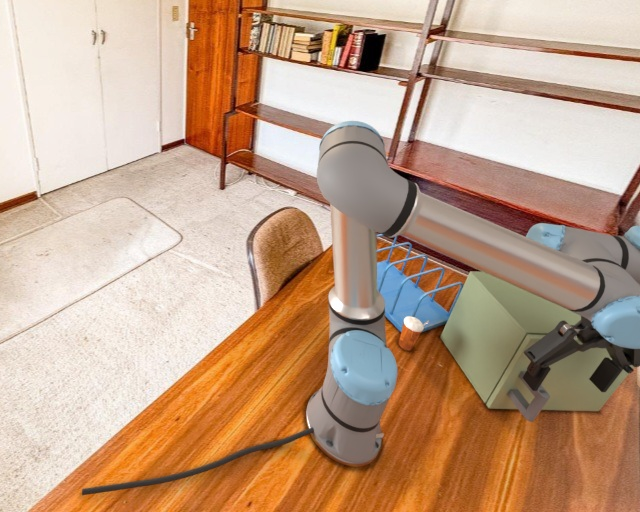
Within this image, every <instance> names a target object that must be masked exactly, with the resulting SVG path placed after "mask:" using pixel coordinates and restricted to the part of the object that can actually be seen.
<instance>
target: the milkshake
mask: <svg viewBox="0 0 640 512" xmlns="http://www.w3.org/2000/svg"><path fill="white" fill-rule="evenodd" d="M428 322H429V320H428V321H427V322H426V323H424V324H422V323H421V321H420V320H418V319H417V318H415V317H410V316H408V317H406V318H405V319H404V322H403V326H402V331H401V332H400V335H399V339H398V345H399V347H400V348H401V349H403V350H404V351H411V350H413V348H414V346H415V344H416V342H417V341H418V339H419V337H420V335H421V334H422V333H423V332H422V331H423V329H424V325H426V324H427V323H428Z"/></svg>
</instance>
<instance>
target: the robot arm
mask: <svg viewBox="0 0 640 512" xmlns="http://www.w3.org/2000/svg"><path fill="white" fill-rule="evenodd" d="M318 145H319V147H318V150H319V151H318V152H319V154H318V163H317V168H316V182H317V185H318V188H319V191H320V192H321V196H322V197H323V198H324V199H325V200H326V201H327V202H328V203H329V206H330V207H329V208H330V209H329V210H330V224H331V227H330V228H331V243H332V244H331V246H332V260H333V261H332V262H333V278H334V286H333V287H332V288H330V290H329V292H328V296H327V297H328V298H327V299H328V313H329V314H328V315H329V316H328V317H329V329H328V330H329V334H328V336H329V337H328V353H327V354H328V356H327V368H326V373H325V377H324V380H323V382H322V383H323V384H322V385H321V387H320V388H319V389H318V390H316V391H315V392H314V393H313V394H312V395H311V397H310V398H309V400H308V403H307V406H306V409H305V423H306V427H307V429H304V430H301V431H299V432H296V433H294V434H292V435H290V436H288V437H285V438H281V439H279V440H273V441H270V442H265V443H261V444H257V445H253V446H251V447H247V448H244V449H241V450H239V451H237V452H234V453H232V454H230V455H227V456H226V457H223V458H221V459H219V460H216V461H214V462H210V463H208V464H205V465H202V466H199V467H196V468H192V469H189V470H185V471H182V472H178V473H175V474H170V475H165V476H159V477H155V478H154V477H153V478H149V479H141V480H135V481H134V480H133V481H128V482H122V483H114V484H106V485H100V486H93V487H85V488H82V489H81V496H87V495H94V494H101V493H102V494H103V493H108V492H116V491H122V490H123V491H124V490H128V489H135V488H136V489H137V488H141V487H148V486H149V487H150V486H154V485H160V484H165V483H170V482H174V481H179V480H183V479H186V478H189V477H193V476H197V475H199V474H202V473H206V472H207V471H211V470H213V469H216V468H219V467H221V466H224V465H225V464H228V463H230V462H232V461H234V460H237V459H239V458H241V457H243V456H246V455H249V454H253V453H256V452H259V451H263V450H264V451H265V450H269V449H273V448H277V447H280V446H283V445H287V444H289V443H292V442H294V441H297V440H300V439H301V438H304V437H306V436H308V435H310V437H311V439H312V441H313V442H314V444H315V445H316V446H317V447H318V448H319V449H320V451H321V452H322V453H323V454H324V455H326V456H327V457H328V458H329V459H331V460H333V461H334V462H336V463H338V464H340V465H343V466H346V467H351V468H361V467H365V466H368V465H370V464H371V463H372V462H374V460H375V459H376V458H377V456H378V455H379V453H380V450H381V447H382V440H383V438H384V436H385V432H384V433H383V432H382V427H381V426H382V425H381V419H382V417H383V415H384V412H385V410H386V407H387V406H388V402H389V401H390V398H391V396H392V394H394V391H395V389H396V384H397V380H398V365H397V361H396V358H395V356H394V354H393V351H392V350H391V349H390V348H389V347H388V344H387V334H386V332H387V331H386V316H385V301H384V298H383V296H382V295H381V293H380V292H379V291H378V290H377V263H378V253H377V250H378V237H377V235H378V234H382V235H384V236H385V237H387V238H389V239H391V238H395V236H397V237H398V236H401V237H403V238H405V239H407V240H410V241H412V242H413V243H414V242H415V243H417V244H419V245H421V246H423V247H425V248H427V249H430V250H433V251H435V252H438V253H439V254H441V255H443V256H446V257H448V258H451V259H453V260H455V261H457V262H460V263H461V264H463V265H466V266H468V267H470V268H473V269H476V271H477V270H478V271H479V272H484V273H486V274H489V275H491V276H493V277H496V278H498V279H500V280H502V281H505V282H507V283H509V284H511V285H514V286H516V287H518V288H520V289H523V290H525V291H527V292H529V293H532V294H534V295H536V296H539V297H541V298H543V299H545V300H548V301H550V302H552V303H554V304H557V305H559V306H561V307H563V308H565V309H568V310H570V311H572V312H574V313H576V314H578V315H580V316H581V320H580V321H579V322H578V323H576V324H575V325H569V324H568V323H567V322H566V321H564V320H563V321H560V322H559V323H558V325H557V326H556V327H555V329H553V330H552V331H551V332H549V333H548V334H547V335H545V336H544V337H543V338H541V339H540V340H539V341H537V342H536V343H535V344H533V345H532V346H531V347H529V348H528V349H527V350H525V351H524V354H525V355H526V356H527V357H528V359H529V360H530V361H531V362H530V364H529V365H528V367H527V371H526V373H525V374H524V376H523V379H524V380H525V382H526V383H527V384H528V385H529V387H530V388H531V389H532V390H533V391H537V390H538V388H539V387H540V385H541V384H542V382H543V381H544V379H545V377H546V376H547V374H548V373H549V371H550V370H551V368H550V367H549V366H550V365H552V364H554V363H556V362H558V361H560V360H561V359H563V358H565V357H567V356H569V355H571V354H573V353H575V352H577V351H581V352H584V351H586V350H588V349H590V348H606V349H607V351H608V353H609V355H610V357H611V358H612V360H611V359H609V358H606V357H605V358H604V359H603V360H602V362H601V363H600V365H599V366H598V367H597V369H596V370H595V372H594V373H593V374H592V376H591V377H590V378H589V380H590V381H591V382H592V383H593V384H594V385H595V386H596V387H597V388H598V389H599V390H600V391H601V392H606V391H607V390H608V388H609V387H610V386H611V385H612V383H613V382H614V381H615V379H616V378H617V377H618V375H619V374H620V373H621V372H622V370H623V369H624V370H625V371H626V372H627V373H629V374H632V373H633V372H634V371H635V370H634V368H639V367H640V225H633V226H631V227H630V228H629V229H628V230H627V231H625V232H624V234H623V235H617V234H607V233H603V232H597V231H593V230H587V229H582V228H576V227H572V226H568V225H567V226H566V225H565V224H560V225H559V224H553V223H545V222H539V223H536V224H534V225H532V226H531V227H530V228H529V229H528V231H527V233H526V235H522V234H520V233H517V232H515V231H513V230H510V229H508V228H506V227H504V226H501V225H499V224H496V223H494V222H492V221H489V220H487V219H486V218H485V219H484V218H482V217H480V216H478V215H475V214H473V213H470V212H468V211H466V210H463V209H462V208H459V207H456V206H455V205H452V204H449V203H447V202H444V201H443V200H440V199H437V198H435V197H432V196H431V195H428V194H425V193H423V192H421V190H420V186H419V185H418V184H417V183H416V182H414V181H411V180H409V179H407V178H405V177H403V176H401V175H400V174H398V173H397V172H395V171H394V170H393V169H392V168H391V167H390V166H389V163H388V159H387V154H386V149H385V148H386V147H385V145H386V144H385V142H384V139H383V138H382V135H381V134H380V132H379V131H378V130H377V129H376V128H374V127H373V126H371V124H368V123H366V122H363V121H358V120H346V121H342V122H338V123H336V124H333V125H332V126H331V127H329V129H328V130H327V131H326V132H325V133H324V135H323V136H322V138H321V139H320V142H319V144H318ZM576 336H577V338H578V340H579V341H580V342H581V343H582V345H580V344H579V343H578V342H577V341H575V340H574V339H576ZM630 365H633V366H634V368H633V369H632V368H631V367H630Z"/></svg>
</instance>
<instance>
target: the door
mask: <svg viewBox="0 0 640 512" xmlns="http://www.w3.org/2000/svg"><path fill="white" fill-rule="evenodd" d="M544 336H545V335H531V334H527V336H526V338H525V339H524V341H523V343H522V344H521V346H520V348H519V349H518V351H517V353H516V355H515V356H514V358H513V360H512V361H511V363H510V365H509V366H508V368H507V370H506V371H505V373H504V375H503V376H502V378H501V380H500V382H499V383H498V385H497V387H496V388H495V390H494V392H493V393H492V395H491V397H490V398H489V400H488V402H487V403H485V405H486V407H487V409H489V410H490V409H491V410H493V409H494V410H518V411H519V412H520V414H521V415H522V417H523V418H524V419H525V421H527V422H529V423H533V422H535V420H536V419H537V417H538V416H539V414H540V413H541V412H542V411H565V412H566V411H568V412H569V411H571V412H600V410H601V409H602V408H603V407H604V405H605V404H606V403H607V402H608V400H609V399H610V398H611V397H612V396H613V394H614V393H615V392H616V390H618V388H619V387H620V386H621V384H622V383H623V382H624V380H626V378H627V377H628V376H629V374H630V373H627V372H626V371H625V370H624V369H623V370H622V372H621V373H620V374H619V375H618V377H617V378H616V379H615V381H614V382H613V383H612V385H611V386H610V387H609V388H608V390H607V391H606V392H601V391H600V390H599V389H598V388H597V387H596V386H595V385H594V384H593V383H592V382H591V381H590V380H589V378H590V377H591V376H592V374H593V373H594V372H595V370H596V369H597V367H598V366H599V365H600V363H601V362H602V360H603V359H604V358H605V357H606V358H609V359H611V360H612V358H611V357H610V355H609V353H608V351H607V349H606V348H590V349H588V350H586V351H584V352H581V351H577V352H575V353H573V354H571V355H569V356H567V357H565V358H563V359H561V360H560V361H558V362H556V363H554V364H552V365H550V366H549V367H550V368H551V370H550V371H549V373H548V374H547V376H546V377H545V379H544V381H543V382H542V384H541V385H540V387H539V388H538V390H537V391H533V390H532V389H531V388H530V387H529V385H528V384H527V383H526V382H525V380H524V379H523V376H524V374H525V373H526V371H527V367H528V365H529V364H530V362H531V361H530V360H529V359H528V357H527V356H526V355H525V354H524V351H525V350H527V349H528V348H529V347H531V346H532V345H533V344H535V343H536V342H537V341H539V340H540V339H541V338H543V337H544ZM574 340H575V341H577V342H578V343H579V344H580V345H582V343H581V342H580V341H579V340H578V338H577V336H576V339H574ZM630 367H631V368H632V369H633V370H634V368H635V367H634V366H633V365H630Z"/></svg>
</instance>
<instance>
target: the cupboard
mask: <svg viewBox="0 0 640 512" xmlns="http://www.w3.org/2000/svg"><path fill="white" fill-rule="evenodd" d="M463 285H464V286H463V288H462V290H461V293H460V295H459V297H458V299H457V301H456V303H455V306H454V308H453V310H452V312H451V314H450V317H449V319H448V321H447V323H446V324H444V325H445V326H444V328H443V330H442V332H441V334H440V339H441V341H442V343H443V344H444V346H445V347H446V349H447V350H448V351H449V353H450V355H451V356H452V357H453V359H454V360H455V361H456V364H458V366H459V367H460V369H461V370H462V372H463V373H464V375H465V376H466V378H467V379H468V381H469V382H470V384H471V385H472V387H473V388H474V390H475V391H476V393H477V394H478V396H479V397H480V398H481V400H482V402H483V403H484V404H486V403H487V402H488V400H489V398H490V397H491V395H492V393H493V392H494V390H495V388H496V387H497V385H498V383H499V382H500V380H501V378H502V376H503V375H504V373H505V371H506V370H507V368H508V366H509V365H510V363H511V361H512V360H513V358H514V356H515V355H516V353H517V351H518V349H519V348H520V346H521V344H522V343H523V341H524V339H525V338H526V336H527V334H531V335H547V334H548V333H549V332H551V331H552V330H553V329H555V327H556V326H557V325H558V323H559V322H560V321H563V320H564V321H566V322H567V323H568V324H569V325H575V324H576V323H578V322H579V321H580V320H581V316H580V315H578V314H576V313H574V312H572V311H570V310H568V309H565V308H563V307H561V306H559V305H557V304H554V303H552V302H550V301H548V300H545V299H543V298H541V297H539V296H536V295H534V294H532V293H529V292H527V291H525V290H523V289H520V288H518V287H516V286H514V285H511V284H509V283H507V282H505V281H502V280H500V279H498V278H496V277H493V276H491V275H489V274H486V273H484V272H482V271H480V270H478V271H477V270H476V271H475V270H474V271H473V270H470V271H469V273H468V275H467V277H466V280H465V281H464V283H463Z"/></svg>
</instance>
